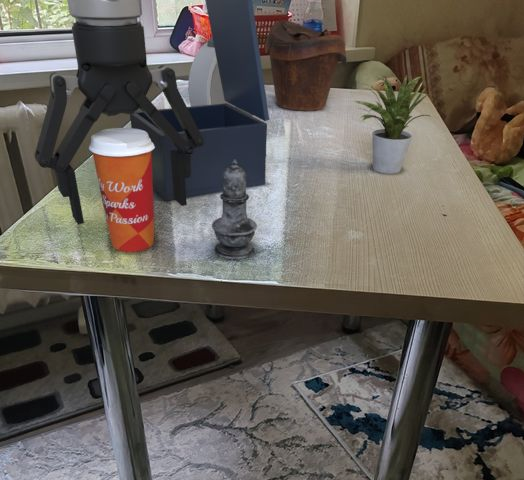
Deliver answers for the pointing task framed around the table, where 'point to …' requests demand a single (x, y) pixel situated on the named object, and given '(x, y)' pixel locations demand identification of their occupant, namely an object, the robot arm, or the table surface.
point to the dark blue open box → (208, 148)
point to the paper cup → (126, 185)
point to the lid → (238, 54)
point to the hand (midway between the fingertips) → (131, 211)
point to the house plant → (392, 125)
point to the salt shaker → (234, 217)
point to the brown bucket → (303, 64)
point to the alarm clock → (206, 78)
